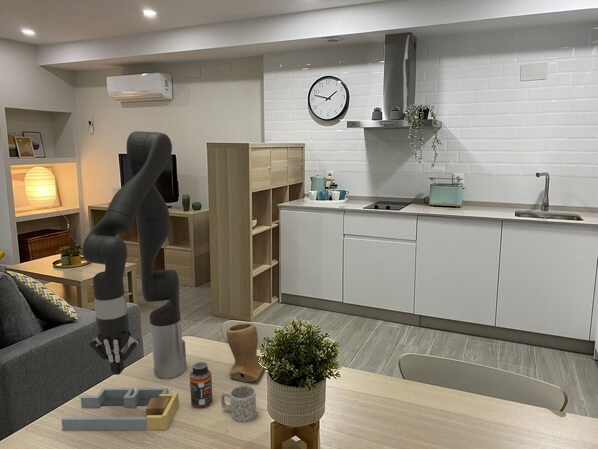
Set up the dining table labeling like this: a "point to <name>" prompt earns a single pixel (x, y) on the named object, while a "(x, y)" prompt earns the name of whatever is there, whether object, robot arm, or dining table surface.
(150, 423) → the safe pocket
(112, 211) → the robot arm
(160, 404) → the walnut block
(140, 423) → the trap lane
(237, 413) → the mug
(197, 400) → the supplement bottle
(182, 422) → the dining table surface
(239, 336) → the tan boot vase
